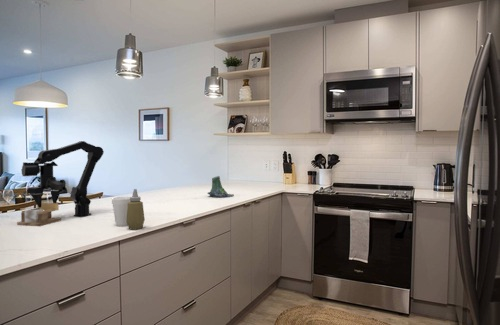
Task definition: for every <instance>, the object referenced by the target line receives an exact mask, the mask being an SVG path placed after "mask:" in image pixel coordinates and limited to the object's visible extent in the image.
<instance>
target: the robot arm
mask: <svg viewBox="0 0 500 325" xmlns="http://www.w3.org/2000/svg"><path fill="white" fill-rule="evenodd" d="M79 150H82V151H83V152H85V153H87V156H86V157H87V162H86V164H85V166H84V169H83V171H82V174H81V177H80V179H79V181H78V184H77V186H75V187H74V186H72V188H71V191H70V192H69V196H70V200H71V201H73V203H74V204H75V207H74V214H73V217H82V218H83V217H87V216H91V215H92V213H90V205H91V202H92V201H91V199H89V198H88V197H87V194H88V185H89V183H90V180H91V177H92V175H93V172H94V170H95V168H96V165H97V163H98V162H99V161H100V160H101V158H102V156H103V155H104V152H105V151H104V149H103V148H102V147H101V146H95V145H93V144H91V143H88V142H86V141H84V140H83V141H82V140H81V141H77V142H75V143H72V144H68V145H65V146H61V147H59V148H54V149H53V148H52V149H45V150H41V151H39V153H38V156H37V158H36V159H35V160H34V161H33V162H27V161H26V162H25V161H24V162H22V166H21V175H22V177H37V176H38V175H39V177H38V178H37V179H38V180H39V182H40V185H38V186H36V187H35V186H33V187H28V188H27V189H26V194H27V195H28V194H29V196H31V197H32V199H33V200H34V202H35V203H36V205H38V207H41V205H42V202H43V201H42V200H43V199H42V197H43V196H44V193H43V192H47V191H50V194H51V196H50V197H51V200H52V203H58V199H59V196H60V194H62V193H63V192H64V190H66V184H67V182H66V180H65V179H60V180H57V179H56V176H54V167H58V164H57V163H56V162H55V161H54V160H57V159H59V157H61V156H64V155H67V154H70V153H72V152H76V151H79Z"/></svg>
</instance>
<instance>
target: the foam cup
mask: <svg viewBox="0 0 500 325" xmlns="http://www.w3.org/2000/svg"><path fill="white" fill-rule="evenodd" d="M130 197H131V196H115V197H112V198H111V204H112V208H113V209H112V210H113V215H114V216H113V217H114V222H115V226H116V227H125V226H126V227H128V224H127V222H126V219H127V208H128V203H129V202H131V201H130Z"/></svg>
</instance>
